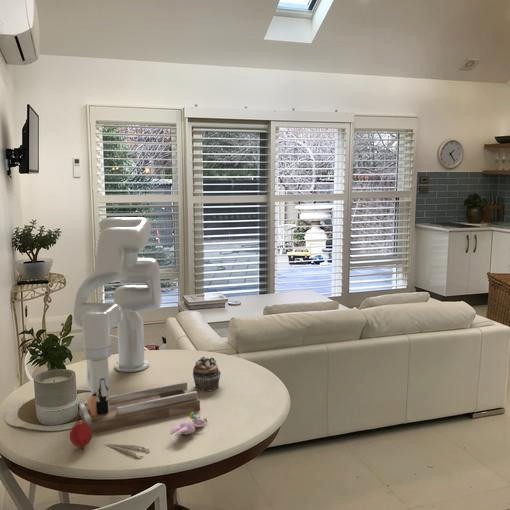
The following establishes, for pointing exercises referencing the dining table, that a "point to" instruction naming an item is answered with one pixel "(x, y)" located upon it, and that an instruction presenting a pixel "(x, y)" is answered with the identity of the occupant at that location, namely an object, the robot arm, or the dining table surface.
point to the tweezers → (130, 448)
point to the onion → (81, 434)
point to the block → (92, 405)
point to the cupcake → (206, 374)
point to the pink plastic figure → (188, 425)
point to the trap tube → (142, 406)
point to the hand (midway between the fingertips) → (100, 409)
